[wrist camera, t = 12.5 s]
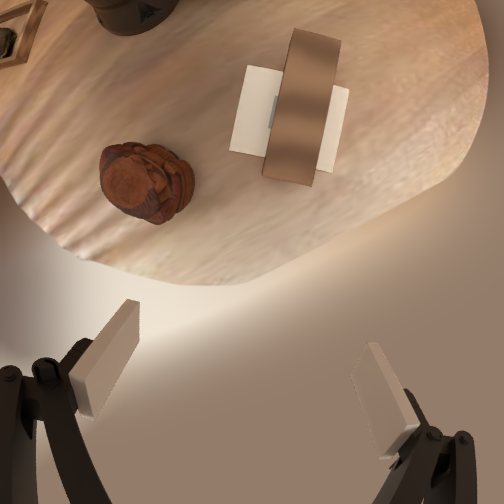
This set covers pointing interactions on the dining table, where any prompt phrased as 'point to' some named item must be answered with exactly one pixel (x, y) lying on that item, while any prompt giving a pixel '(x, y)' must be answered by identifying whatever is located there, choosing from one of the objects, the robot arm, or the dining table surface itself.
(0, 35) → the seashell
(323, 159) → the fulcrum
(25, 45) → the wooden tray
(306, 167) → the bar
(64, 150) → the dining table surface
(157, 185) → the wooden figurine
